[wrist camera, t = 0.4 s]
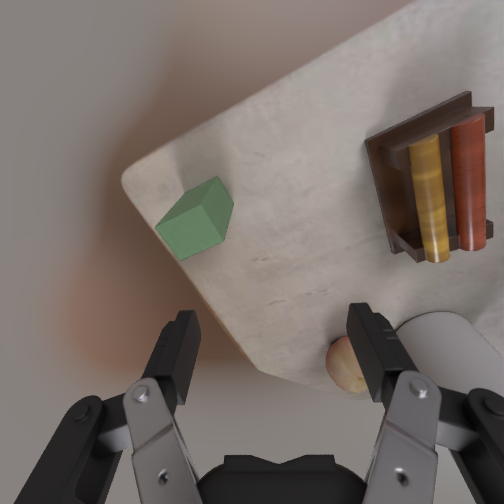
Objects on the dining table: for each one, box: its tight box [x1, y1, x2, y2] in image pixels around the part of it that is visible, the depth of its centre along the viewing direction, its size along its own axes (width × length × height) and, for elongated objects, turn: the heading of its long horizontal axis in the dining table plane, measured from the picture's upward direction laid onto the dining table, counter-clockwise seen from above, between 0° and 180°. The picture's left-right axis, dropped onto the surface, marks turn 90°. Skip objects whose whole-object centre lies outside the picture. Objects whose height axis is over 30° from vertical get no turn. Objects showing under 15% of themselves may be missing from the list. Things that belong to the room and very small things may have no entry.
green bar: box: [155, 176, 234, 261], centre depth 26 cm, size 4×5×10 cm
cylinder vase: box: [396, 312, 504, 463], centre depth 31 cm, size 12×12×25 cm
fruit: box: [326, 336, 368, 393], centre depth 40 cm, size 8×8×8 cm
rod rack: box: [365, 91, 494, 263], centre depth 26 cm, size 16×10×6 cm, turn 27°
